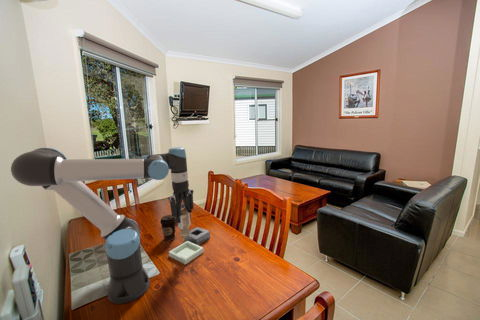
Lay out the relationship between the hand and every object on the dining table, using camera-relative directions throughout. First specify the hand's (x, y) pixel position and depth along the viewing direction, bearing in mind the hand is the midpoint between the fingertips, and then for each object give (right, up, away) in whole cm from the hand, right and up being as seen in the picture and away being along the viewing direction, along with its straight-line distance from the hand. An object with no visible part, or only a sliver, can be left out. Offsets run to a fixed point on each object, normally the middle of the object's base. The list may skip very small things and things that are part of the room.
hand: (184, 226), depth 112 cm
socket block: (+3, -12, +17) cm, 21 cm away
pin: (0, -5, +1) cm, 5 cm away
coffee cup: (-13, -12, +18) cm, 26 cm away
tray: (0, -15, +3) cm, 15 cm away
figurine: (-14, -7, +45) cm, 48 cm away
